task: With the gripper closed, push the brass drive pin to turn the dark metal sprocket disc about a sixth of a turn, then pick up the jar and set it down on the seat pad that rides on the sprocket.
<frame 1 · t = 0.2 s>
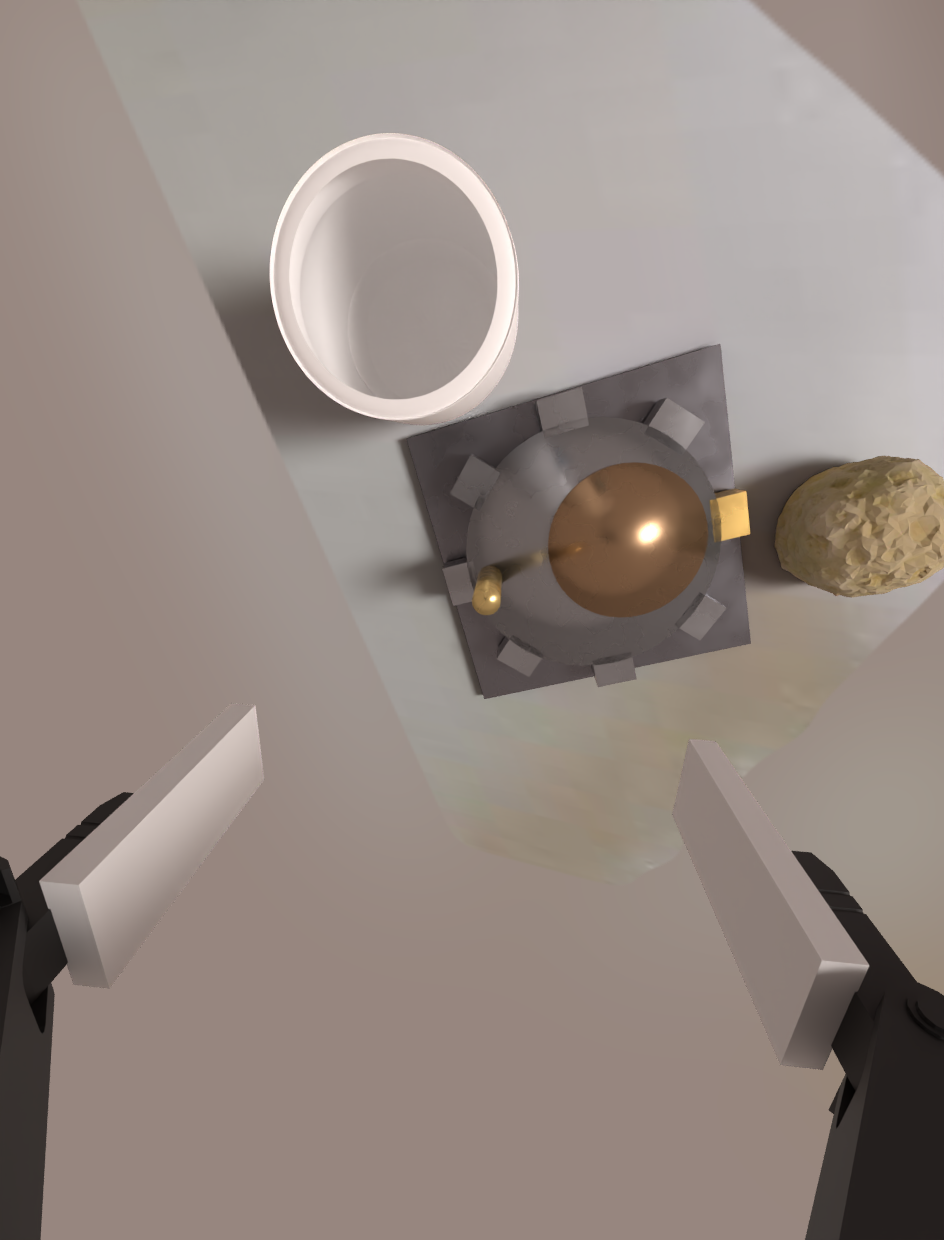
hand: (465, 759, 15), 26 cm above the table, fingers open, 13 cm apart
decorative object: (832, 520, 37), on the table
base plate: (584, 543, 39), on the table
sprocket: (595, 558, 34), point 5 cm above the table, hinge at 0.0°
jar: (440, 349, 35), on the table
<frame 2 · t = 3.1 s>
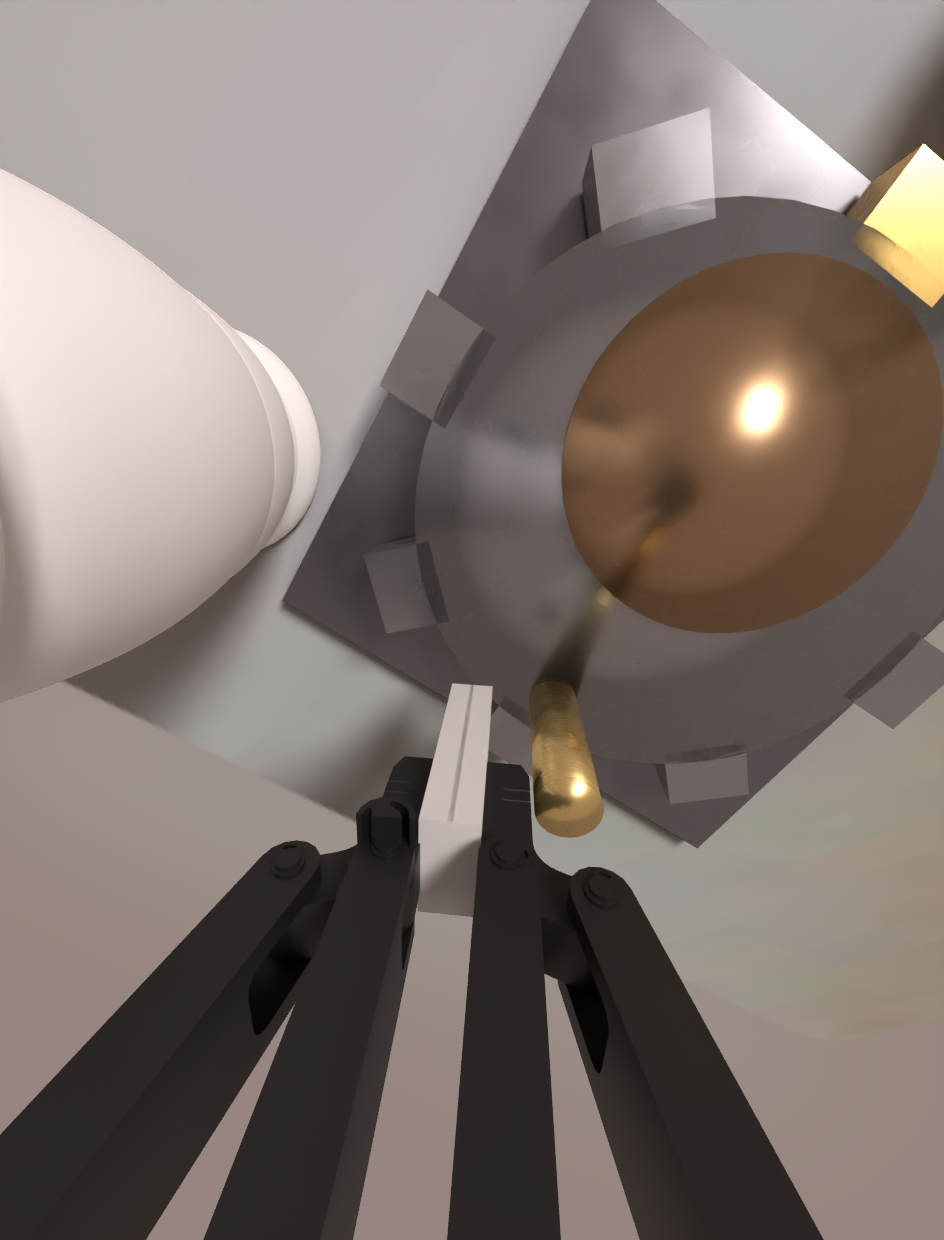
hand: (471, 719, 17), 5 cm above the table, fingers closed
base plate: (659, 519, 19), on the table
sprocket: (707, 544, 14), point 5 cm above the table, hinge at 0.1°, touching gripper
jar: (223, 446, 20), on the table
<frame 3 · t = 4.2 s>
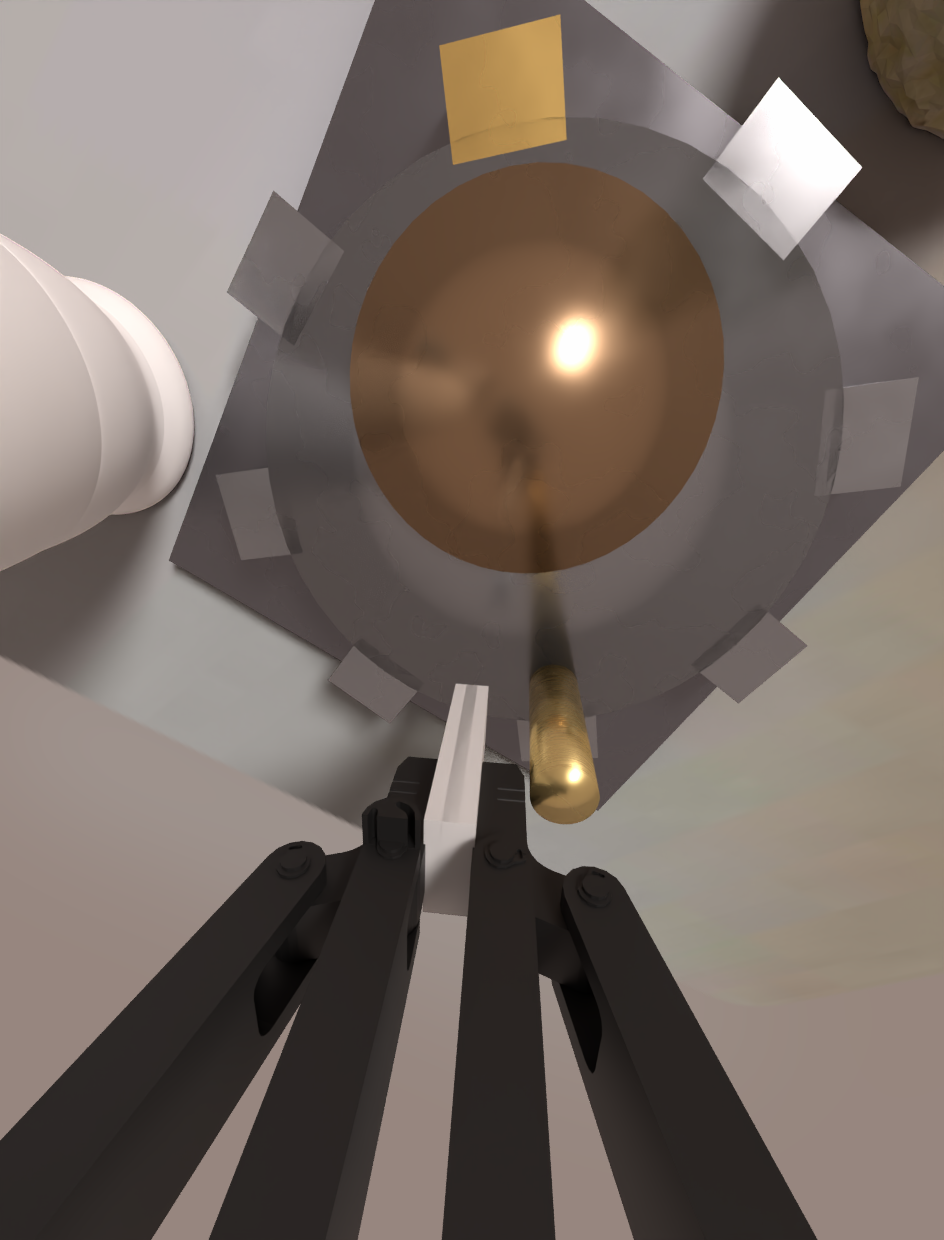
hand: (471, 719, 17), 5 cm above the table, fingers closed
base plate: (534, 472, 19), on the table
sprocket: (537, 487, 14), point 5 cm above the table, hinge at 39.2°, touching gripper
jar: (102, 405, 20), on the table
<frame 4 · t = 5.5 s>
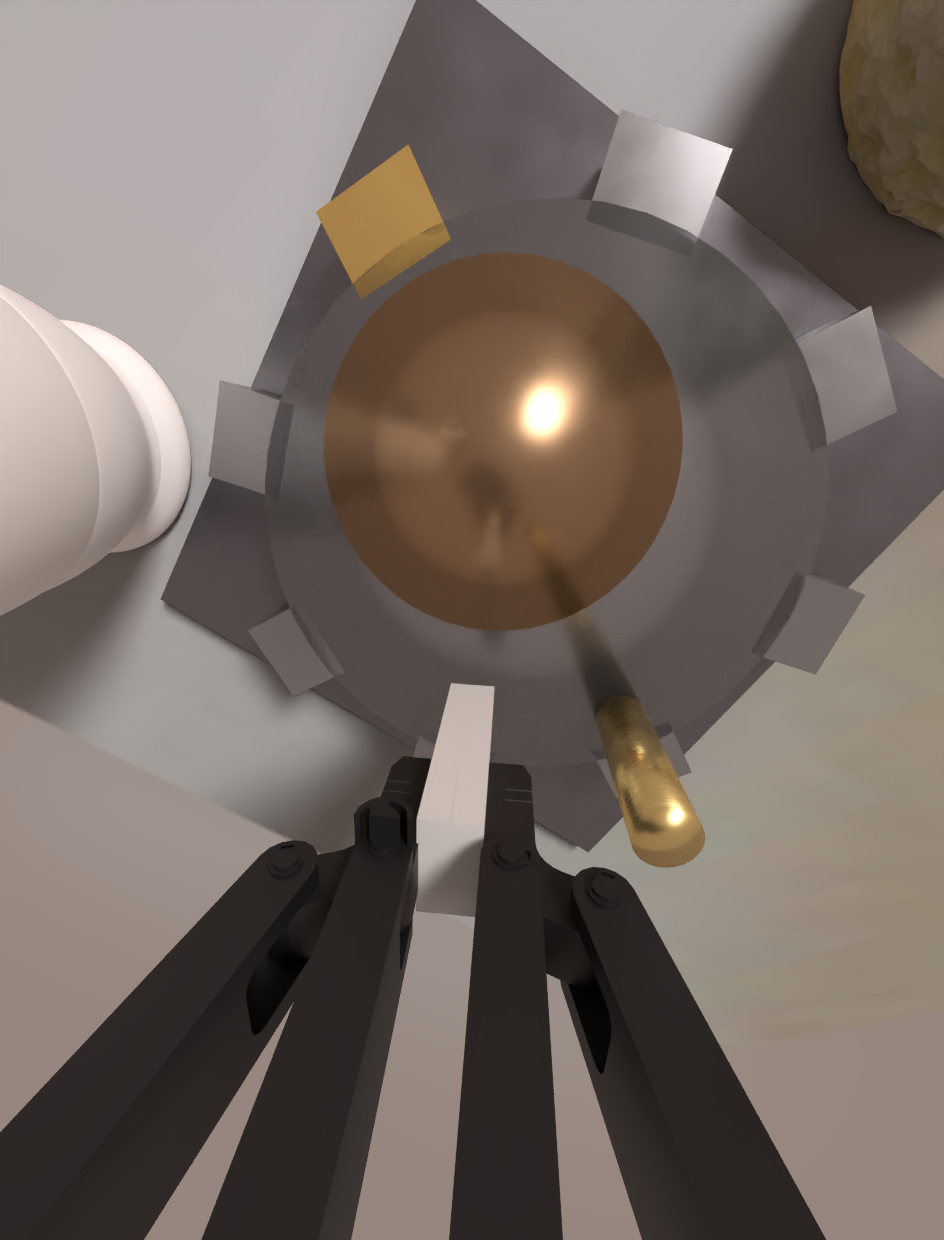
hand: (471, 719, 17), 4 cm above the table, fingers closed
base plate: (529, 521, 19), on the table
sprocket: (534, 546, 14), point 5 cm above the table, hinge at 60.4°
jar: (97, 444, 20), on the table
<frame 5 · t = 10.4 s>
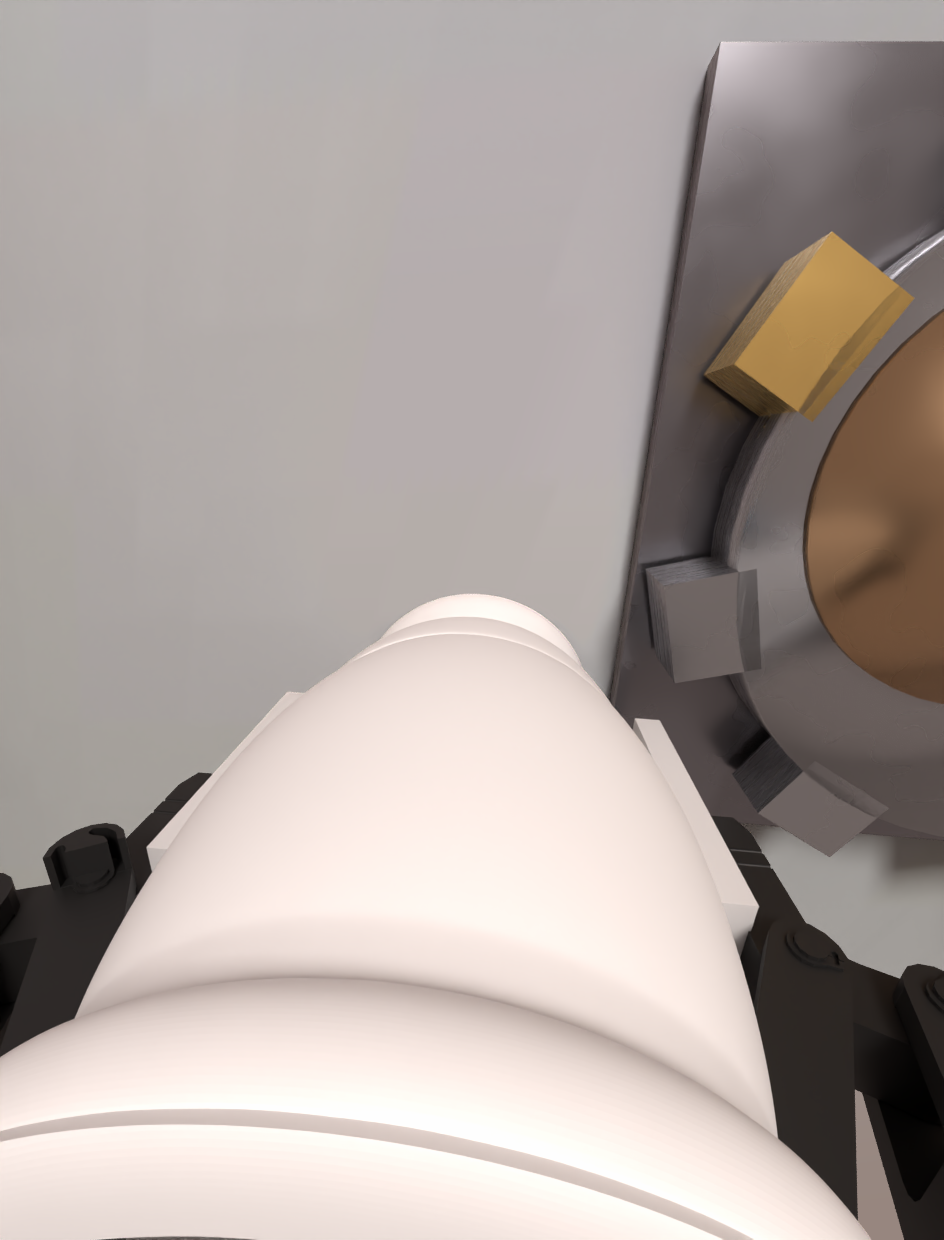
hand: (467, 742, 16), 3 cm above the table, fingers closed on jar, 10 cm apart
jar: (474, 696, 19), on the table, touching gripper
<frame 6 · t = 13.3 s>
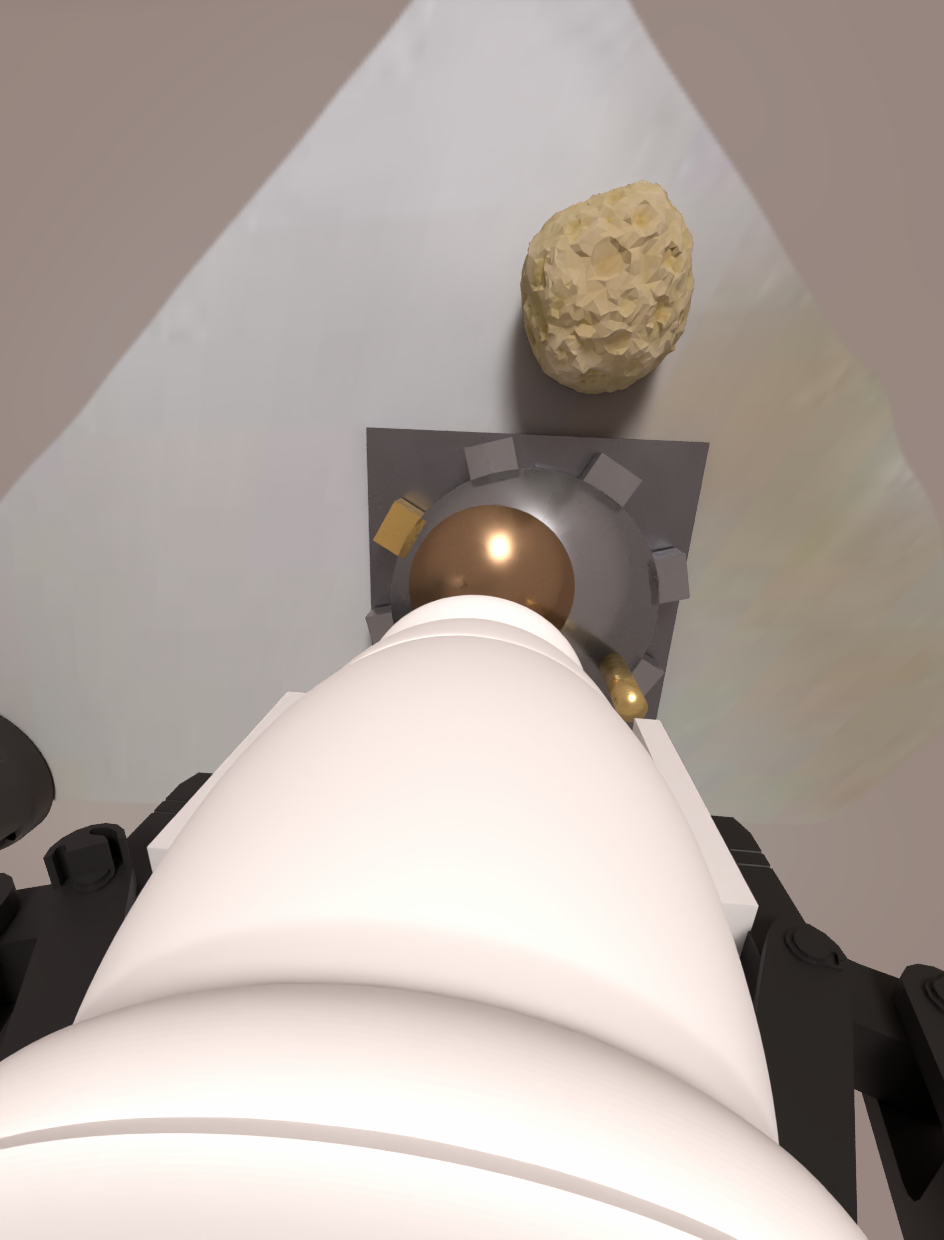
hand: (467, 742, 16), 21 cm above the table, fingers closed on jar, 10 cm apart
decorative object: (592, 315, 30), on the table
base plate: (521, 594, 36), on the table
sprocket: (522, 617, 32), point 5 cm above the table, hinge at 60.4°
jar: (474, 697, 19), point 18 cm above the table, touching gripper
when the fingers open (7 cm above the table, at t = 16.3 s): jar stays where it is, resting on sprocket.
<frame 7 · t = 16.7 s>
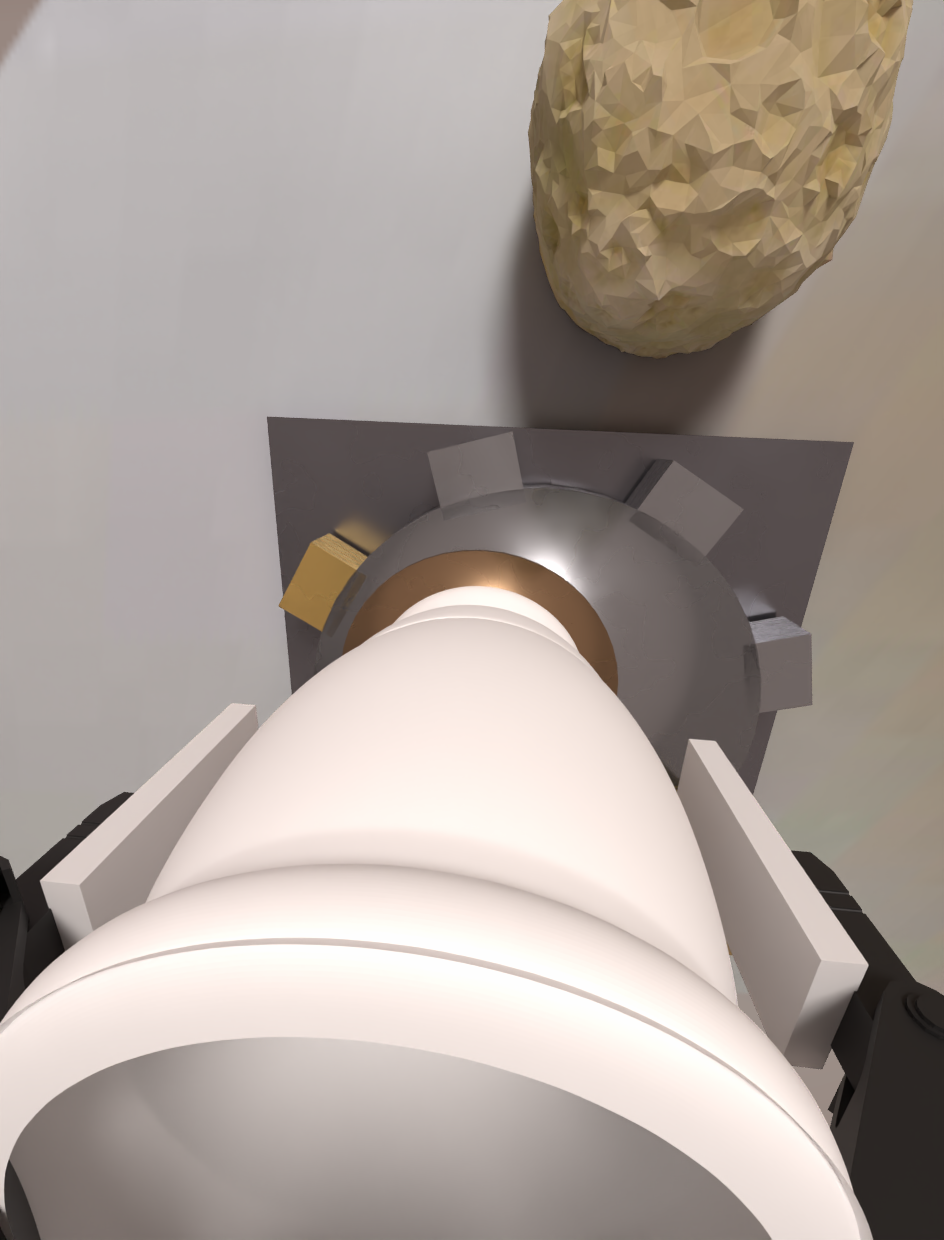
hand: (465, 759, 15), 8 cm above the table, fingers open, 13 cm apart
decorative object: (654, 217, 17), on the table
base plate: (526, 681, 23), on the table
sprocket: (530, 743, 18), point 5 cm above the table, hinge at 60.4°, touching jar
jar: (477, 685, 20), point 3 cm above the table, touching sprocket
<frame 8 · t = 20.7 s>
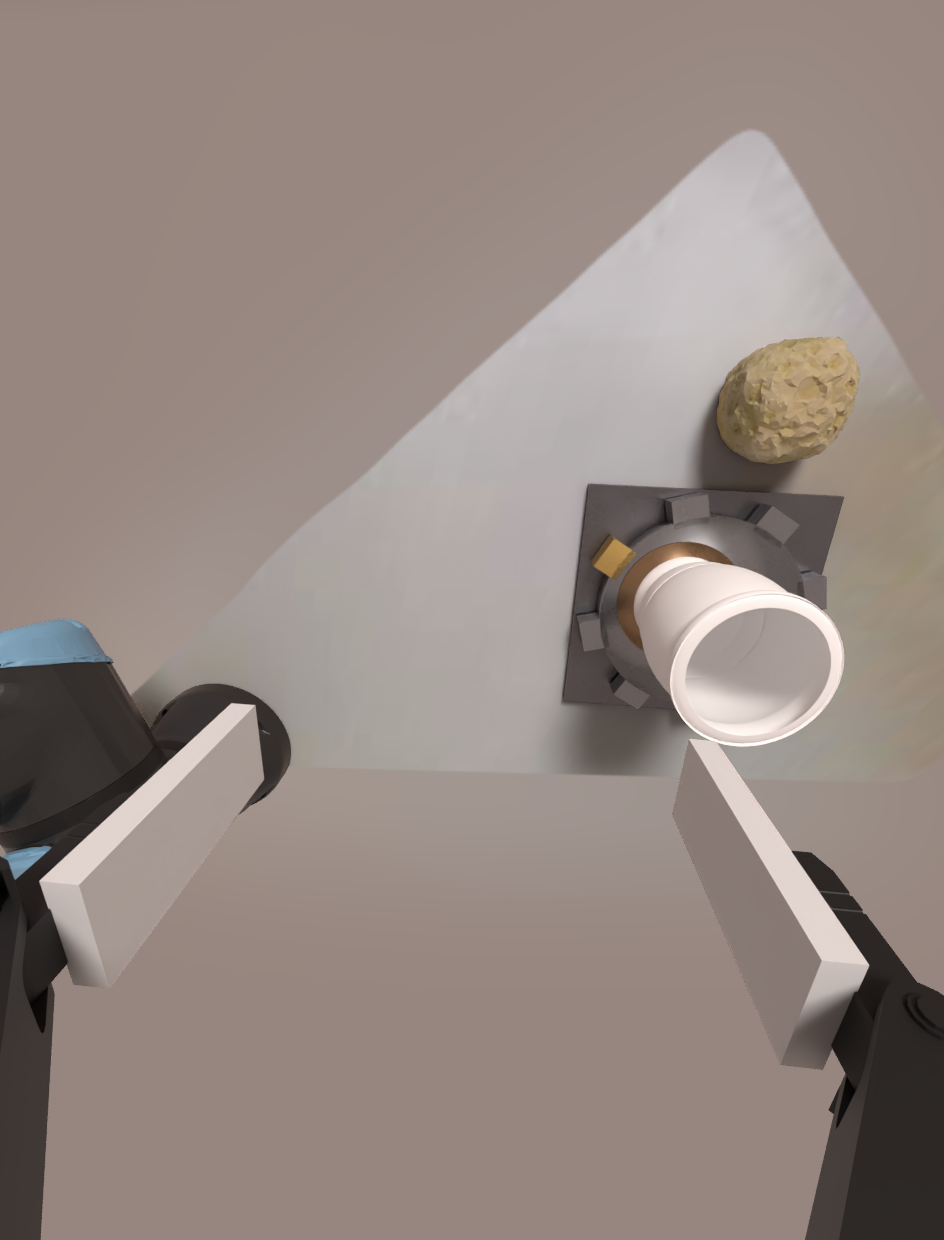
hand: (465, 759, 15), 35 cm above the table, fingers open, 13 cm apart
decorative object: (763, 406, 42), on the table
base plate: (688, 605, 48), on the table
sprocket: (707, 623, 44), point 5 cm above the table, hinge at 60.4°, touching jar
jar: (679, 601, 45), point 3 cm above the table, touching sprocket
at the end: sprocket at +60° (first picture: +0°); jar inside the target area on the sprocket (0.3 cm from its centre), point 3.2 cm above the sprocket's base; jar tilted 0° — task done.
